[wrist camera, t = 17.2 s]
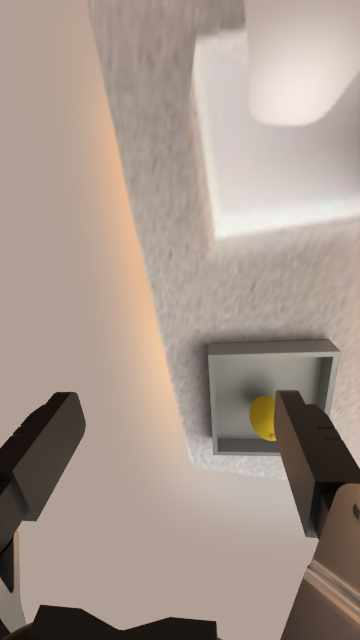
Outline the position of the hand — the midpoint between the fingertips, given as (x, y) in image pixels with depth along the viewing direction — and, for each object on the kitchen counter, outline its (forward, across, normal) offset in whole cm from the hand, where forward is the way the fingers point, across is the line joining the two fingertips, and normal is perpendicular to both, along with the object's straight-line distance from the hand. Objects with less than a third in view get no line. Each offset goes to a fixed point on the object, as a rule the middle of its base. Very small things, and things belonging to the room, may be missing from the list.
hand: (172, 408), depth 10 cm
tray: (+28, -10, +22) cm, 37 cm away
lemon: (+28, -10, +22) cm, 37 cm away
